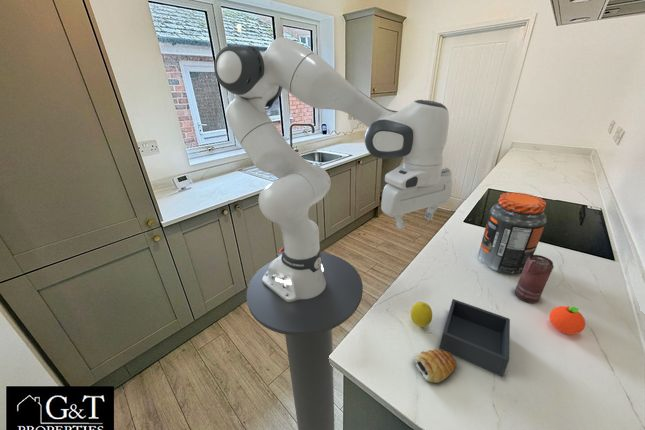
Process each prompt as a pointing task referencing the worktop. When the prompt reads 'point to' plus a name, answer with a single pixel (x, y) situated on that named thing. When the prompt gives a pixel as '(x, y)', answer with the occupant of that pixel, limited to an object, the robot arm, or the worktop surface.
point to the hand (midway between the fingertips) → (414, 223)
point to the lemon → (421, 314)
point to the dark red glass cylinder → (533, 278)
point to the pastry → (435, 365)
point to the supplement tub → (512, 232)
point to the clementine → (567, 319)
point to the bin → (477, 336)
